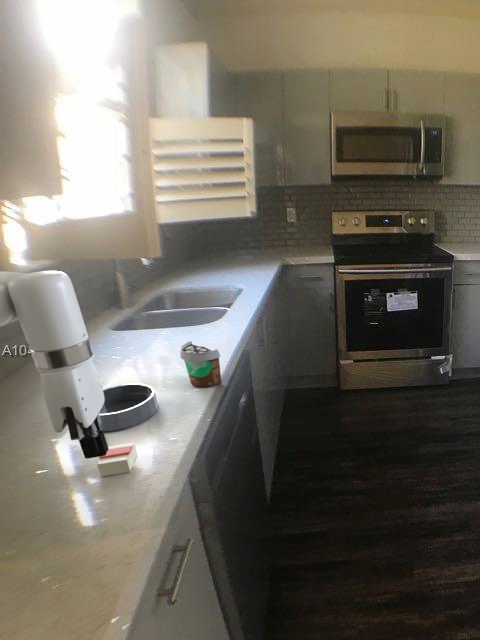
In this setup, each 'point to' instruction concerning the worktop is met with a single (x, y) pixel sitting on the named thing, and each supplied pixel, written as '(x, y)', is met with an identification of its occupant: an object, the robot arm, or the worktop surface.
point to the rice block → (117, 459)
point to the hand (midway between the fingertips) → (97, 454)
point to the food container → (201, 365)
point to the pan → (127, 406)
